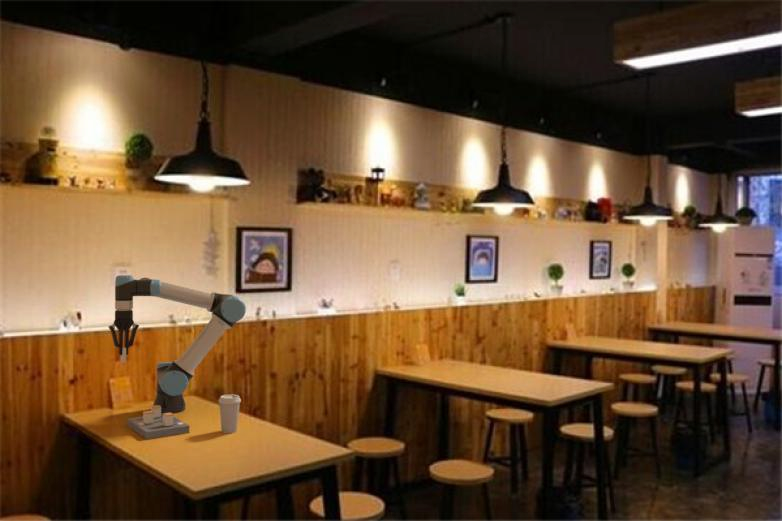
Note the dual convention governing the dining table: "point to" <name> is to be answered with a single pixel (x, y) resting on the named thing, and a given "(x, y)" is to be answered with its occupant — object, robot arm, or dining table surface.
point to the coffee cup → (229, 412)
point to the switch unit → (157, 427)
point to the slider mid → (148, 417)
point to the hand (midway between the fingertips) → (123, 362)
